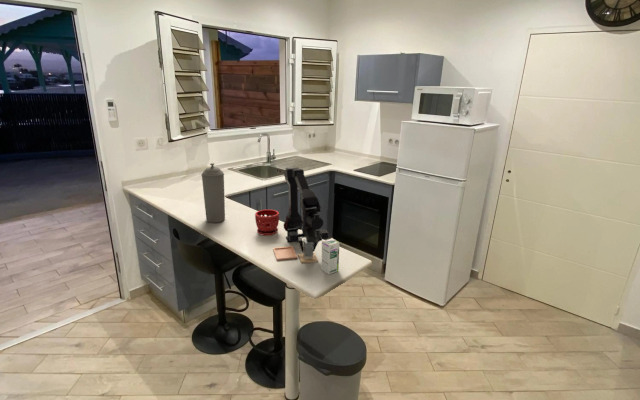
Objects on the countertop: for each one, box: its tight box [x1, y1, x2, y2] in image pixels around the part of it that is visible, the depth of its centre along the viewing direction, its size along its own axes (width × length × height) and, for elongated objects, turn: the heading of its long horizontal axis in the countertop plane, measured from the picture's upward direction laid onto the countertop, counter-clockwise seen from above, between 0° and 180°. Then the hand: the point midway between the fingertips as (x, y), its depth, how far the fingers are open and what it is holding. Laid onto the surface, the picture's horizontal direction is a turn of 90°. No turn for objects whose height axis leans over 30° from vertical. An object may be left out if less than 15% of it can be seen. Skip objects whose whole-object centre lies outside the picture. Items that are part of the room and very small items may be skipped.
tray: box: [272, 245, 298, 261], centre depth 173 cm, size 12×10×1 cm
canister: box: [201, 162, 226, 224], centre depth 207 cm, size 13×13×35 cm
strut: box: [302, 238, 314, 256], centre depth 168 cm, size 4×4×7 cm
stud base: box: [297, 252, 319, 264], centre depth 169 cm, size 8×8×2 cm
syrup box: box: [320, 237, 340, 275], centre depth 157 cm, size 6×6×14 cm
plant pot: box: [254, 209, 280, 237], centre depth 196 cm, size 13×13×12 cm
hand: (308, 251), depth 168 cm, fingers open, 5 cm apart
